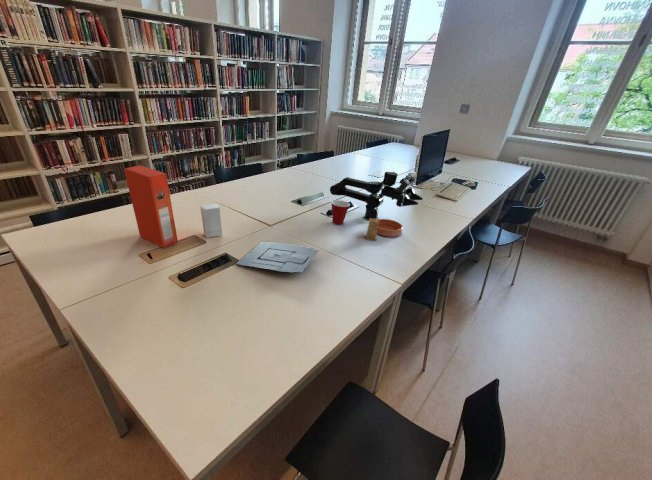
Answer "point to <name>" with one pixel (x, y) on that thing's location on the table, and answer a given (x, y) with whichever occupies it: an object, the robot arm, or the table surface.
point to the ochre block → (372, 229)
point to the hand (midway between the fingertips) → (420, 201)
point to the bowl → (389, 228)
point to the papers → (279, 257)
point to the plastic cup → (339, 211)
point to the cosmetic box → (211, 220)
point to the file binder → (152, 205)
